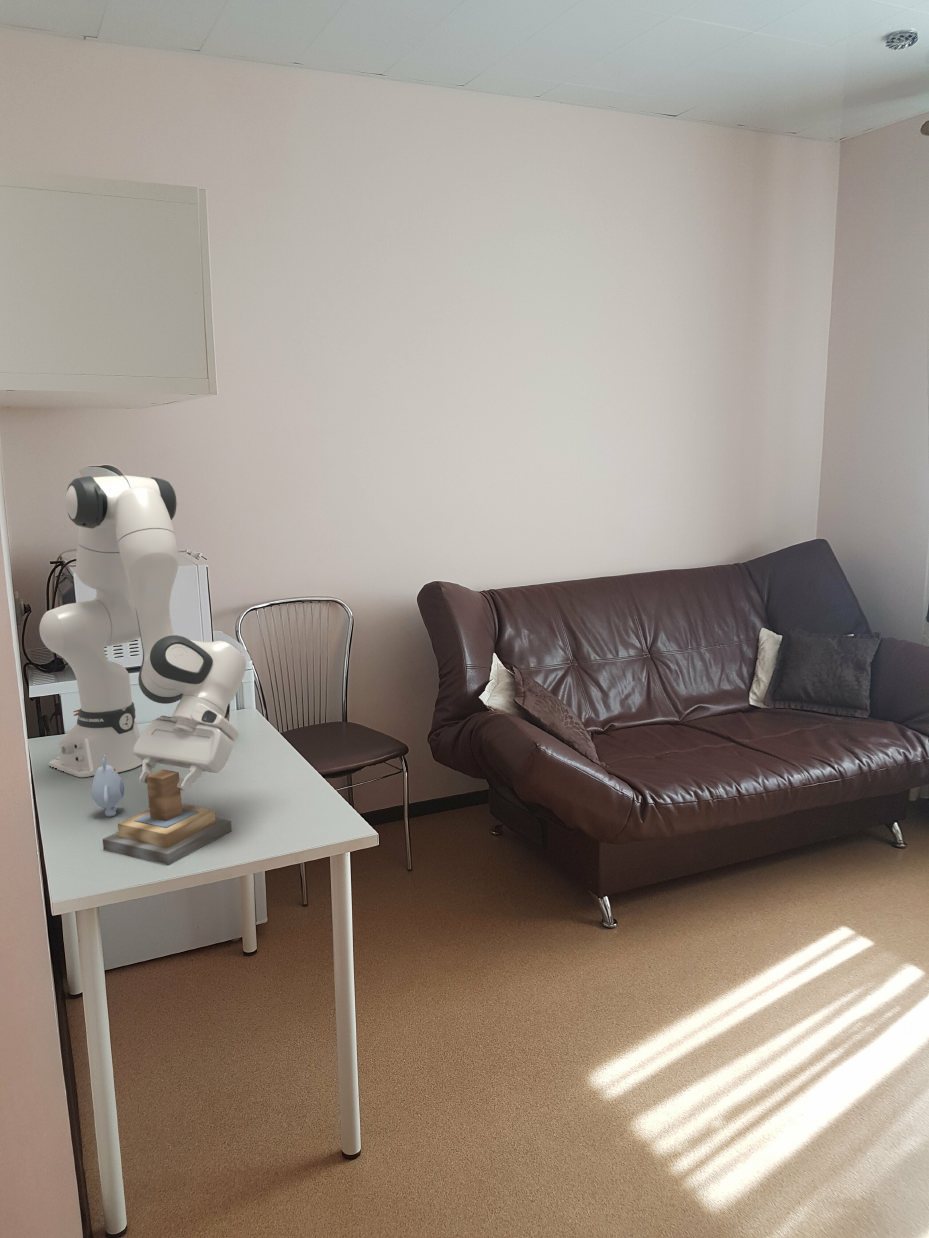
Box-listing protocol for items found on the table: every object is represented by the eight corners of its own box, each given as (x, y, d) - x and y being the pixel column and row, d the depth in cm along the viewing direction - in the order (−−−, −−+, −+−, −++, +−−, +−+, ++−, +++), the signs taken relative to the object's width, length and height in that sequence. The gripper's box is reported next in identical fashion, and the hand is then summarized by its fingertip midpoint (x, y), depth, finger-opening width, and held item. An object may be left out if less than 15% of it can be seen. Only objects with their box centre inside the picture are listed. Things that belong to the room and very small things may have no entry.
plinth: (103, 849, 165) (100, 824, 165) (169, 817, 179) (167, 795, 178) (168, 864, 158) (166, 839, 157) (231, 830, 172) (229, 807, 171)
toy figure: (125, 820, 179) (119, 762, 176) (91, 825, 177) (84, 766, 175) (128, 802, 189) (122, 746, 186) (95, 806, 187) (89, 750, 185)
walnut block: (150, 817, 167) (146, 776, 166) (166, 810, 171) (162, 769, 169) (166, 821, 165) (162, 779, 164) (182, 813, 169) (178, 772, 167)
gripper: (146, 706, 176) (111, 770, 169) (228, 717, 166) (194, 785, 160) (166, 722, 181) (132, 785, 174) (246, 734, 171) (213, 801, 164)
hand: (162, 786), depth 167 cm, fingers open, 8 cm apart
